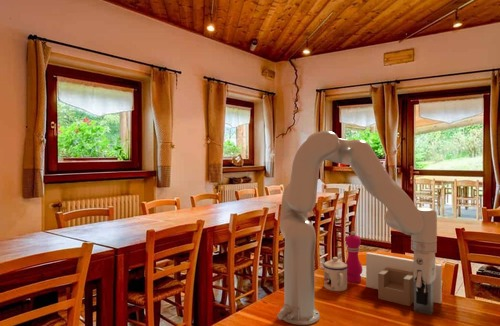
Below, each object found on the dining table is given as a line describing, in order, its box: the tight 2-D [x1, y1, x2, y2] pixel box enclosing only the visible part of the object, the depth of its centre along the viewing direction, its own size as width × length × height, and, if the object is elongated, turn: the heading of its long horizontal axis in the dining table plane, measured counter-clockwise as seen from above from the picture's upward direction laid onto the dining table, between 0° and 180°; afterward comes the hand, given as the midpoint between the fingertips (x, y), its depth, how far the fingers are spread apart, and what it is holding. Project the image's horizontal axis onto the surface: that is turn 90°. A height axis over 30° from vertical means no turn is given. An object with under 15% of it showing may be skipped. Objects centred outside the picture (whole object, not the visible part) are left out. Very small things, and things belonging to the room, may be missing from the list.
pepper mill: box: [345, 231, 363, 284], centre depth 149 cm, size 7×7×20 cm
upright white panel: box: [365, 252, 443, 307], centre depth 130 cm, size 11×26×13 cm, turn 51°
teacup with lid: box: [323, 256, 348, 292], centre depth 139 cm, size 12×9×12 cm
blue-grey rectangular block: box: [413, 281, 434, 316], centre depth 119 cm, size 4×5×10 cm
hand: (423, 301), depth 119 cm, fingers closed on blue-grey rectangular block, 3 cm apart
